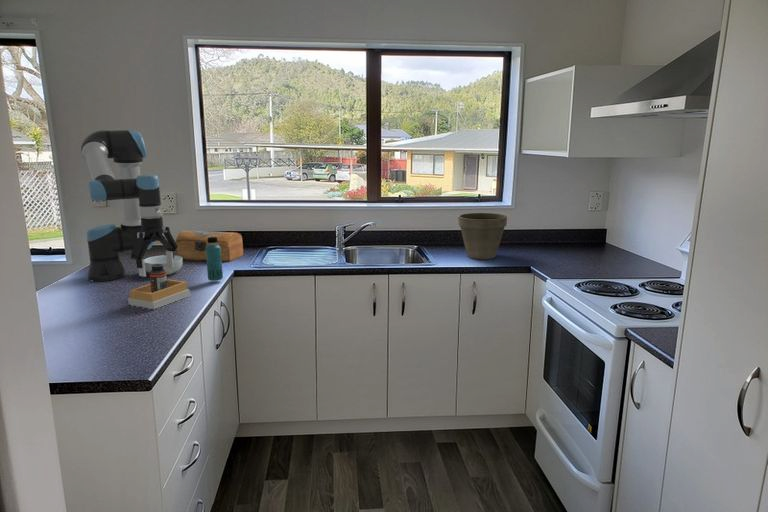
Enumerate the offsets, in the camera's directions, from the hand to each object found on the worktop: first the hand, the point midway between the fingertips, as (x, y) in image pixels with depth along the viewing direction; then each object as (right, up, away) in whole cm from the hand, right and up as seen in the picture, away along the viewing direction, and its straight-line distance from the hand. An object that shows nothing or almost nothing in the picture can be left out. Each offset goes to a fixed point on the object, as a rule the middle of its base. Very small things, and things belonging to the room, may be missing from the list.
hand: (157, 271), depth 198 cm
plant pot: (+138, +6, +74) cm, 156 cm away
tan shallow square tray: (-2, -11, +3) cm, 12 cm away
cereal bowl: (-15, -2, +42) cm, 44 cm away
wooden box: (-4, +5, +72) cm, 73 cm away
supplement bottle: (0, -9, +2) cm, 9 cm away
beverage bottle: (+13, -6, +28) cm, 31 cm away
